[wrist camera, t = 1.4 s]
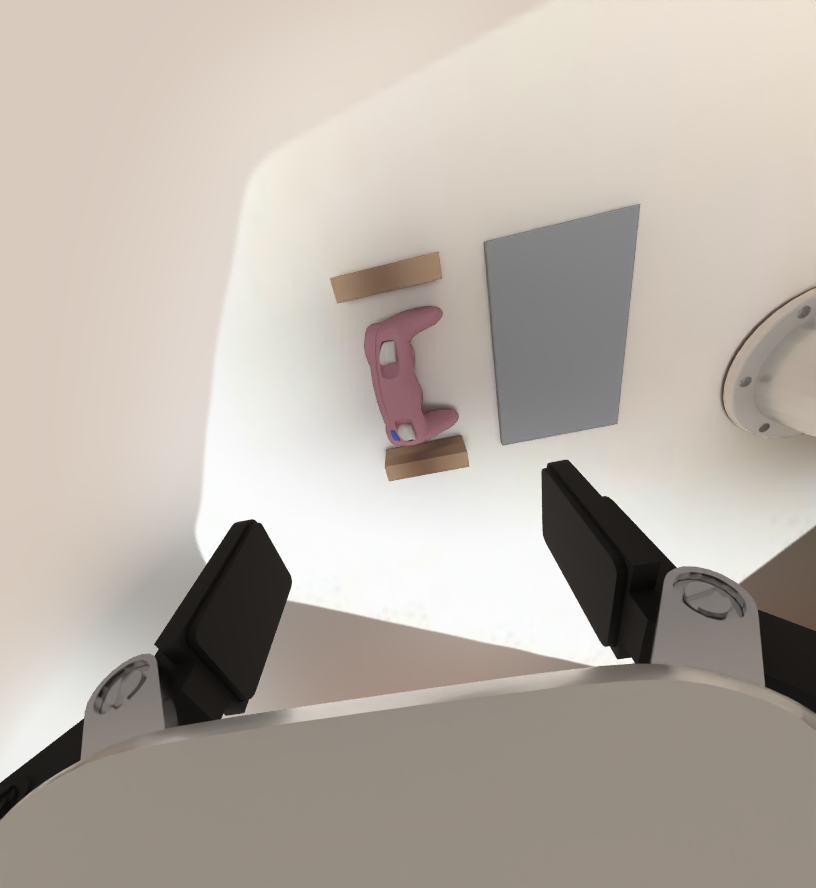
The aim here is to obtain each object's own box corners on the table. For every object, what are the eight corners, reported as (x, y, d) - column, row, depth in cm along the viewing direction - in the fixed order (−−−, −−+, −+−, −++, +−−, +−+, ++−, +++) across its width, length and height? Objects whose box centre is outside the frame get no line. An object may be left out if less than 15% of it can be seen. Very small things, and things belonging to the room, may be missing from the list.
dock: (434, 254, 23) (438, 252, 20) (463, 449, 30) (469, 466, 27) (338, 277, 23) (330, 278, 20) (390, 463, 30) (388, 481, 28)
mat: (634, 205, 21) (640, 204, 21) (613, 421, 29) (617, 423, 28) (484, 242, 22) (486, 241, 22) (501, 442, 30) (502, 445, 29)
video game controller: (391, 309, 26) (340, 330, 20) (445, 299, 23) (403, 320, 18) (416, 420, 30) (380, 460, 25) (463, 420, 28) (434, 464, 23)
